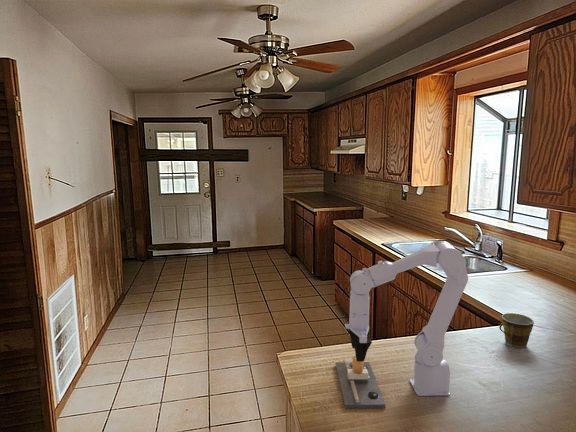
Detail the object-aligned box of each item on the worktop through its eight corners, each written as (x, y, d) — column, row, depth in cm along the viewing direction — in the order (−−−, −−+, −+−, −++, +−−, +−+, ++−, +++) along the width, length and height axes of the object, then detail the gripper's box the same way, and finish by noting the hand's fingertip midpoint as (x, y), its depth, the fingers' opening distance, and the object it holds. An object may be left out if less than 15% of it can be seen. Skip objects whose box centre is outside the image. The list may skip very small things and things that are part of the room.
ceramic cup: (514, 336, 146) (516, 311, 145) (538, 348, 137) (540, 322, 135) (487, 342, 142) (488, 316, 141) (510, 355, 133) (512, 327, 131)
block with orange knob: (368, 374, 119) (368, 355, 118) (370, 380, 116) (370, 361, 115) (347, 374, 119) (347, 356, 118) (348, 380, 116) (348, 361, 115)
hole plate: (368, 365, 128) (368, 353, 127) (385, 408, 106) (385, 394, 105) (335, 365, 128) (335, 354, 127) (345, 408, 106) (345, 394, 105)
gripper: (342, 302, 121) (341, 342, 124) (349, 321, 107) (348, 367, 109) (364, 302, 121) (363, 342, 124) (375, 321, 107) (373, 367, 109)
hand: (357, 354), depth 116 cm, fingers open, 7 cm apart
